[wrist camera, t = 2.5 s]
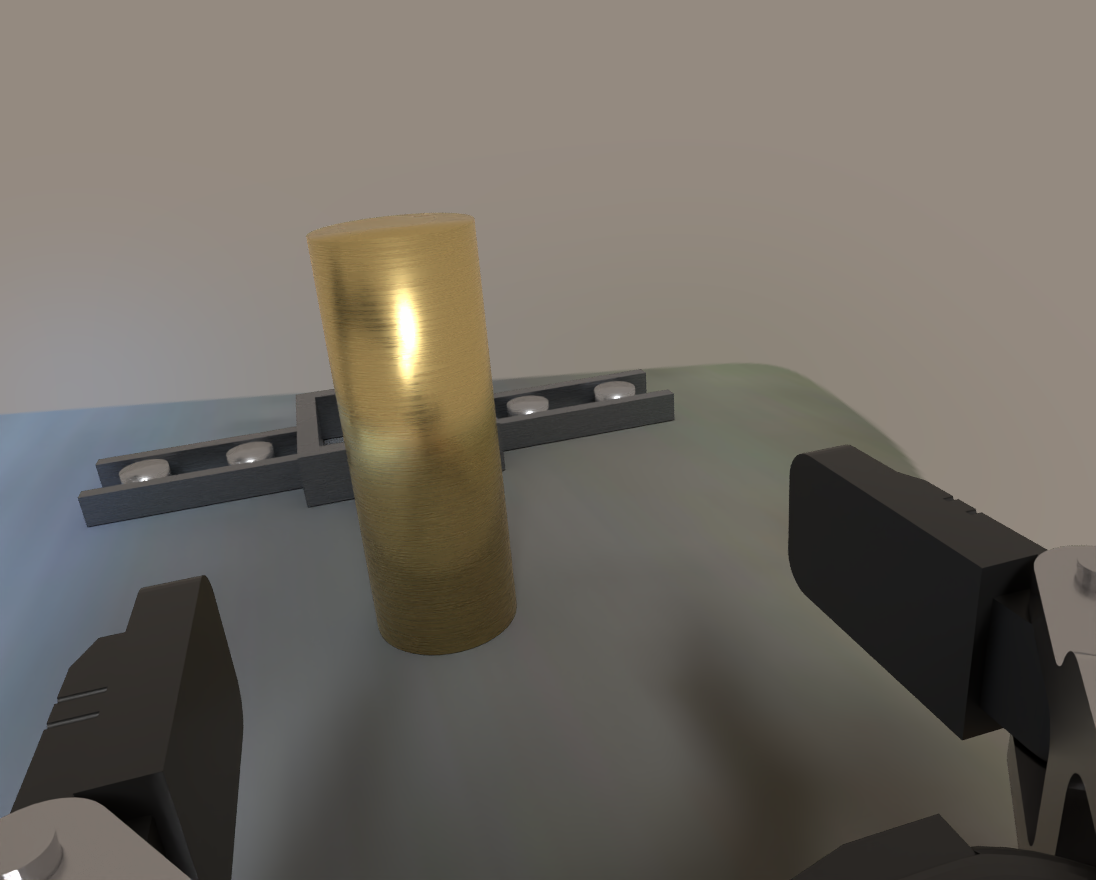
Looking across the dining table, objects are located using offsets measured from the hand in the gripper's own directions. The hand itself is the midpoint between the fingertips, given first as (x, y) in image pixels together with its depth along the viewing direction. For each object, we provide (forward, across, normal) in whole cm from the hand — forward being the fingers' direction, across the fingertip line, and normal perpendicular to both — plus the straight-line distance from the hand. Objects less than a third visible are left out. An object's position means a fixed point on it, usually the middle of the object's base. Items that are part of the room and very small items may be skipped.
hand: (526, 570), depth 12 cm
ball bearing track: (+24, 0, +8) cm, 25 cm away
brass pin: (+12, 0, +8) cm, 14 cm away
